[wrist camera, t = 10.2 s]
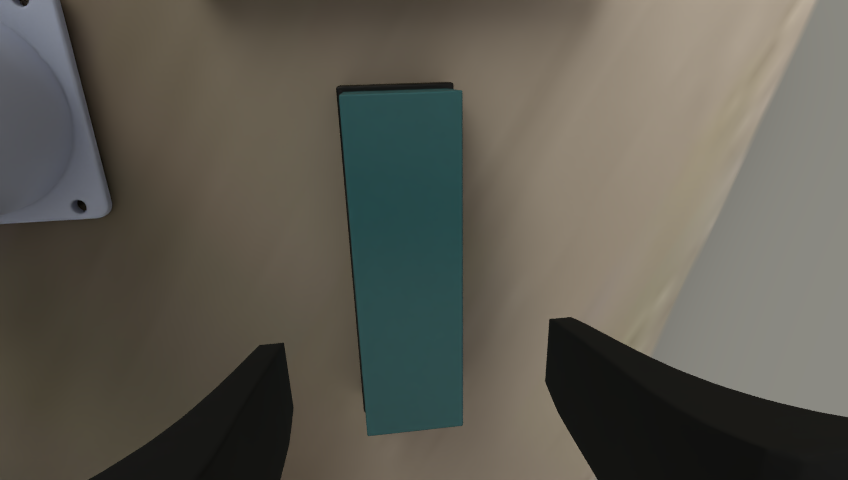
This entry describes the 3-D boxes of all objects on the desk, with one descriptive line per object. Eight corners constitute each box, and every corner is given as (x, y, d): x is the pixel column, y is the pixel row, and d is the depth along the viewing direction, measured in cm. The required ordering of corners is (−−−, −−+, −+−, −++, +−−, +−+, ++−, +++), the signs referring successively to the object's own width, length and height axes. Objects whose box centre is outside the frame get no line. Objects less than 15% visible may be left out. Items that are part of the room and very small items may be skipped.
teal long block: (450, 385, 23) (467, 445, 19) (364, 393, 22) (364, 457, 19) (447, 81, 18) (469, 83, 15) (337, 85, 18) (331, 88, 14)
